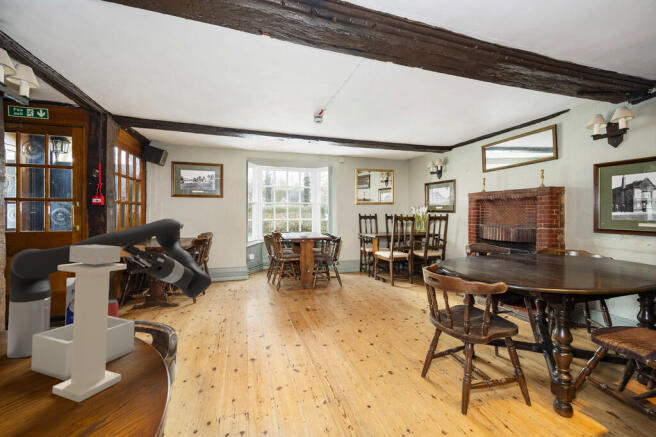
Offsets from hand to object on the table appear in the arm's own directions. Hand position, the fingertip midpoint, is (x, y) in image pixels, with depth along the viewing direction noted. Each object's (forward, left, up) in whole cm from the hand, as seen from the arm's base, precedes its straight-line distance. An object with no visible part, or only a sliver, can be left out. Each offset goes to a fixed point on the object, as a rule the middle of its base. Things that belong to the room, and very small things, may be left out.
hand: (122, 246), depth 81 cm
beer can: (-32, +18, -37) cm, 52 cm away
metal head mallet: (0, -2, -3) cm, 4 cm away
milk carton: (-46, +16, -37) cm, 61 cm away
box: (-16, +2, -36) cm, 40 cm away
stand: (0, -7, -36) cm, 37 cm away
